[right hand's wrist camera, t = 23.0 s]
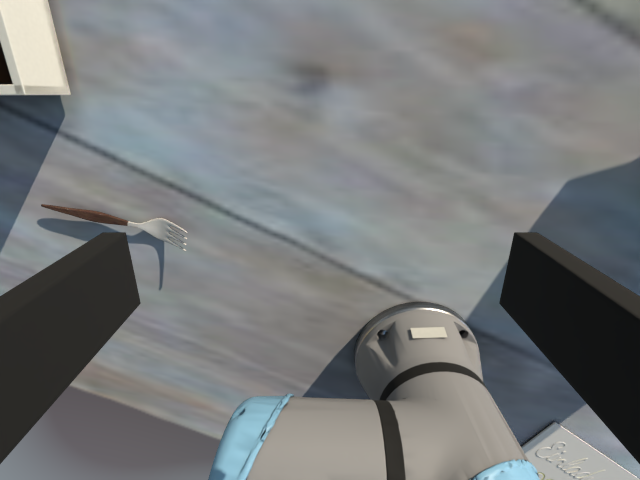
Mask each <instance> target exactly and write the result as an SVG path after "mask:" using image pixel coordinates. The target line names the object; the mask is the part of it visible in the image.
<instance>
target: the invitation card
mask: <svg viewBox="0 0 640 480" xmlns="http://www.w3.org/2000/svg"><path fill="white" fill-rule="evenodd" d="M521 448H522V450H523V451H524V453H525V455H526V457H527V458H528V460H529V462H530V463H532V465H533V466H534V467H535V468H536V470H537V472H538V475H539V479H540V480H640V479H639V478H637V477H636V476H634V475H633V474H631V473H630V472H628V471H627V470H625V469H624V468H622V467H621V466H619V465H618V464H617V463H615V462H614V461H612V460H611V459H609V458H608V457H606V456H605V455H603V454H602V453H600V452H599V451H597V450H596V449H594V448H593V447H591V446H590V445H588V444H587V443H585V442H584V441H583V440H581V439H580V438H578V437H577V436H575V435H574V434H572V433H571V432H569V431H568V430H566V429H565V428H563V427H562V426H560V425H559V424H557V423H556V422H554V423H552V424H551V425H550V426H548V427H547V428H546V429H544V430H543V431H542V432H540V433H539V434H538V435H536V436H535V437H534V438H532V439H531V440H530V441H529V442H527V443H526V444H525V445H523V446H522V447H521Z"/></svg>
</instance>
